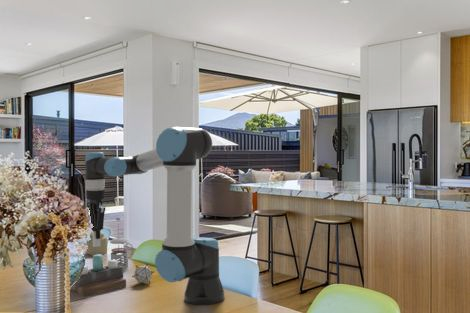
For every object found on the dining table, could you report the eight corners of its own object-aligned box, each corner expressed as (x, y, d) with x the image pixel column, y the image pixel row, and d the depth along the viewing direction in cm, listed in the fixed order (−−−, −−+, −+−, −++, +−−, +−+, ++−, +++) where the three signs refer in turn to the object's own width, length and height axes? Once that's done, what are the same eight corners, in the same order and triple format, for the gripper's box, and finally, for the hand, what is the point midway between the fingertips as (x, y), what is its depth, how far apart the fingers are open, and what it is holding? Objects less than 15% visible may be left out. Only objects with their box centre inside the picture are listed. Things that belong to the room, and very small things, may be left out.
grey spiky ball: (138, 293, 197) (123, 274, 197) (150, 280, 204) (136, 263, 204) (150, 285, 192) (135, 267, 192) (162, 273, 199) (147, 255, 199)
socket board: (127, 286, 194) (127, 268, 194) (82, 296, 182) (82, 277, 181) (112, 279, 205) (112, 262, 205) (69, 289, 192) (68, 271, 192)
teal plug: (104, 269, 193) (104, 255, 193) (95, 271, 190) (95, 257, 190) (100, 268, 196) (100, 253, 196) (91, 269, 193) (90, 255, 193)
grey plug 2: (119, 274, 197) (118, 260, 197) (110, 276, 195) (110, 262, 194) (115, 273, 200) (114, 259, 200) (106, 274, 198) (105, 260, 197)
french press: (107, 268, 224) (105, 217, 223) (131, 265, 229) (129, 215, 228) (110, 273, 215) (109, 219, 214) (135, 270, 220) (134, 217, 219)
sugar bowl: (79, 252, 261) (78, 225, 261) (97, 248, 269) (96, 223, 269) (93, 256, 251) (92, 228, 250) (111, 252, 259) (110, 225, 258)
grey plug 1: (89, 281, 189) (89, 266, 189) (80, 283, 186) (79, 268, 186) (85, 279, 192) (85, 264, 192) (76, 281, 189) (75, 266, 189)
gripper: (111, 189, 190) (112, 247, 191) (97, 187, 200) (98, 242, 200) (93, 191, 185) (94, 250, 186) (80, 189, 195) (81, 245, 196)
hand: (96, 246), depth 193 cm, fingers closed
